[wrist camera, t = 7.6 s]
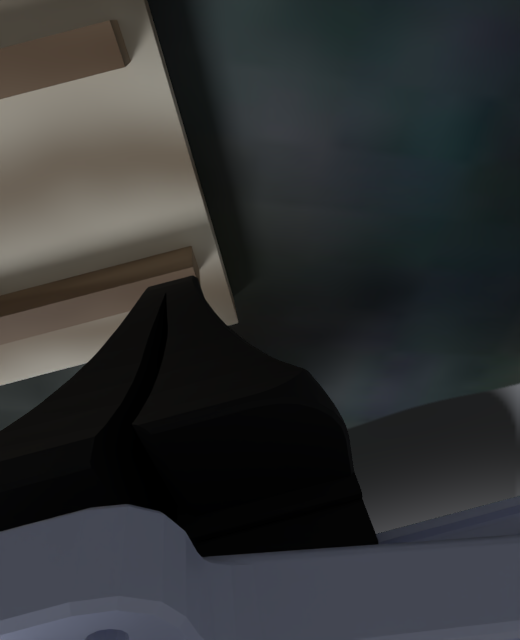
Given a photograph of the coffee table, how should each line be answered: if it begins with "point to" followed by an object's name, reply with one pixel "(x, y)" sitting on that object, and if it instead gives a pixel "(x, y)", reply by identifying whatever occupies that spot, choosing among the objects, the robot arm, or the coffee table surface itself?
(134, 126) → the deck
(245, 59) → the coffee table surface
